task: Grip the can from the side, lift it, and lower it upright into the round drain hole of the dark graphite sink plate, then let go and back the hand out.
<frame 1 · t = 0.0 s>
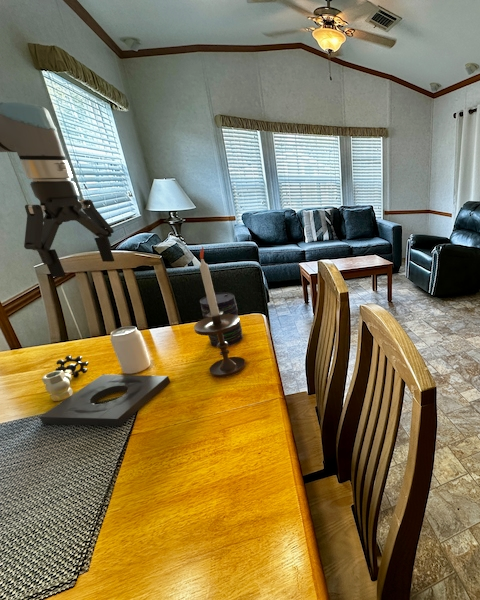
hand: (85, 268, 84), 29 cm above the table, tool pointing down, fingers open, 13 cm apart
can: (137, 368, 93), on the table
candlestick: (228, 368, 93), on the table
valve: (69, 388, 85), on the table
storage jar: (227, 340, 108), on the table
sink plate: (112, 401, 80), on the table
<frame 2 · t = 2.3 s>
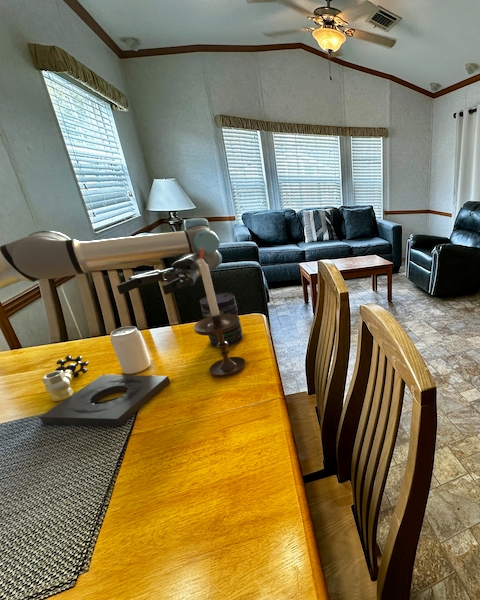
hand: (141, 289, 94), 20 cm above the table, tool horizontal, fingers open, 13 cm apart
nothing on the table moved.
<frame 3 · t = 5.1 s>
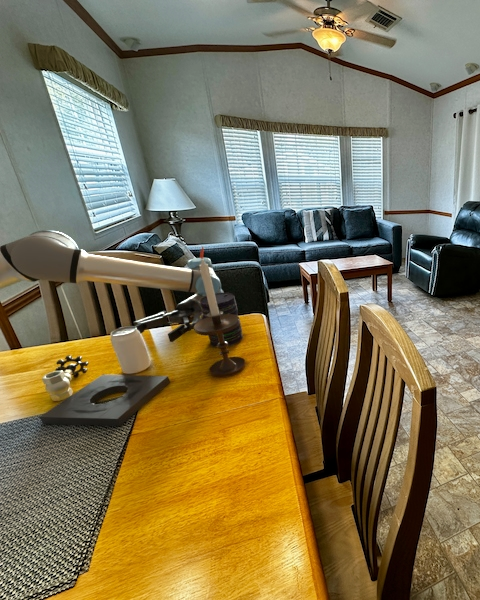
hand: (147, 337, 97), 6 cm above the table, tool horizontal, fingers open, 13 cm apart
nothing on the table moved.
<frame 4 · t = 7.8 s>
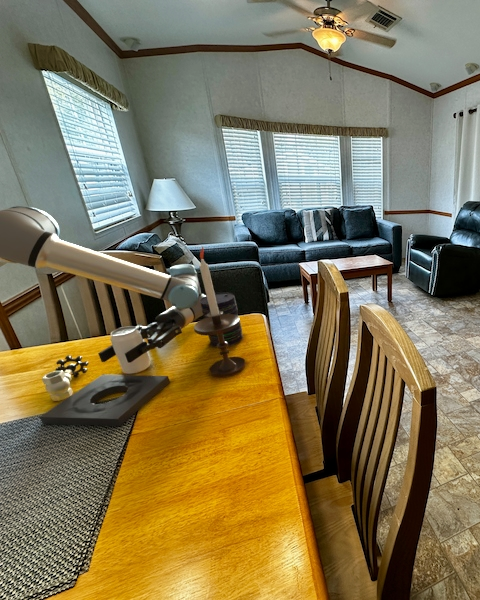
hand: (114, 357, 86), 7 cm above the table, tool horizontal, fingers closed on can, 6 cm apart
can: (137, 368, 93), on the table, touching gripper
everything else where it was.
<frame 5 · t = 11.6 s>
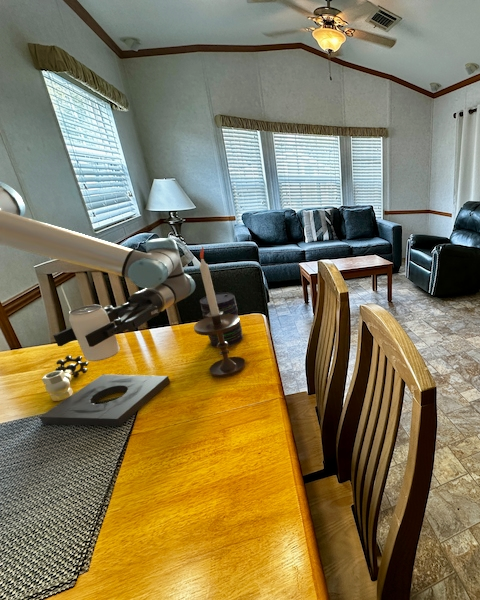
hand: (73, 341, 72), 18 cm above the table, tool horizontal, fingers closed on can, 6 cm apart
can: (104, 355, 79), point 11 cm above the table, touching gripper
everything else where it was.
when the fingers open (7 cm above the table, at t = 15.3 s): can stays where it is, resting in sink plate.
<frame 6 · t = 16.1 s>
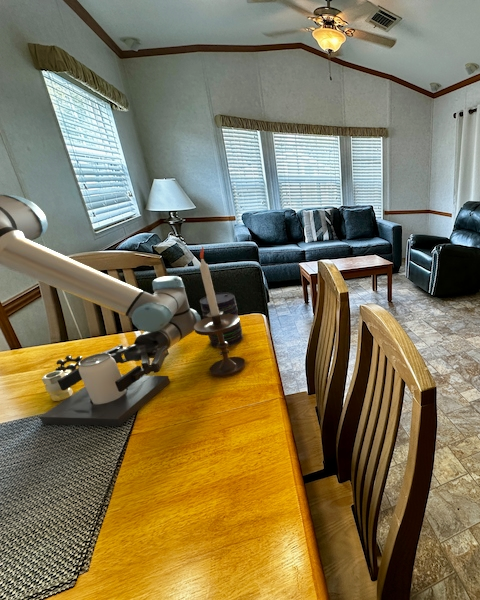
hand: (89, 386, 74), 7 cm above the table, tool horizontal, fingers open, 13 cm apart
can: (112, 401, 80), resting in sink plate
everything else where it was.
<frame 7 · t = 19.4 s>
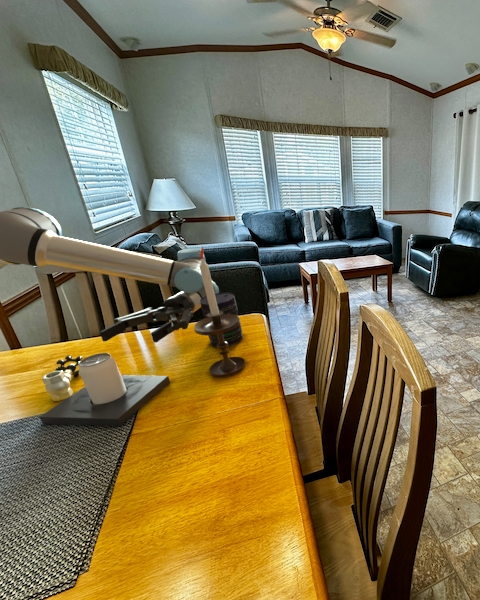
hand: (127, 337, 84), 12 cm above the table, tool horizontal, fingers open, 13 cm apart
nothing on the table moved.
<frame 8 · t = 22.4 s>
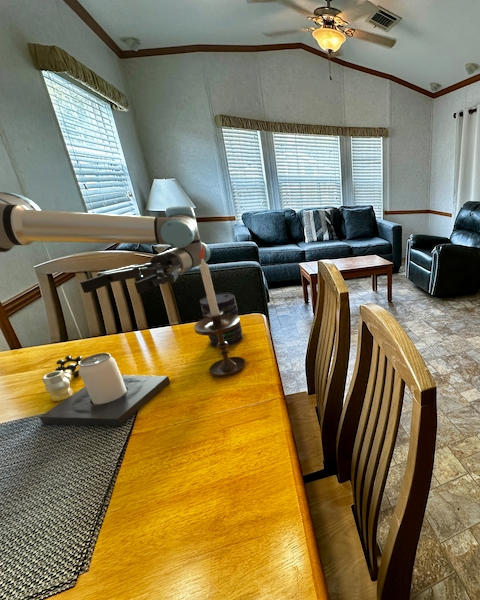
hand: (110, 288, 79), 26 cm above the table, tool horizontal, fingers open, 13 cm apart
nothing on the table moved.
at the end: can 0.0 cm off-centre in the sink plate, point 0.0 cm above the sink plate's base; can tilted 0°; the gripper is holding nothing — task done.
